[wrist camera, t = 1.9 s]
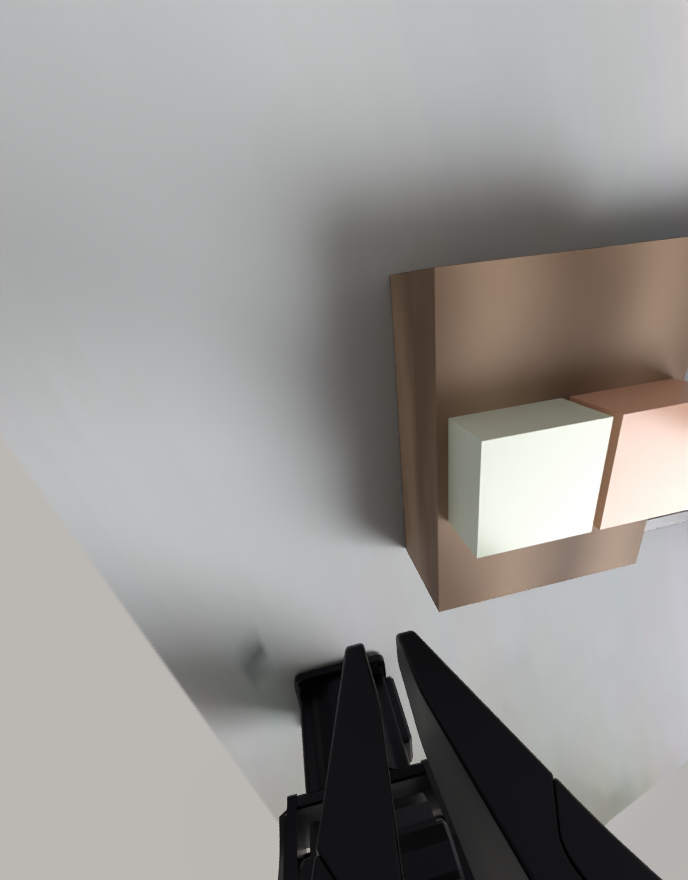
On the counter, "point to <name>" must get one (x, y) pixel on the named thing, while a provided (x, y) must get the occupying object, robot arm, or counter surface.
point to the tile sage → (525, 474)
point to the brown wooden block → (524, 385)
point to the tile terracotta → (642, 451)
